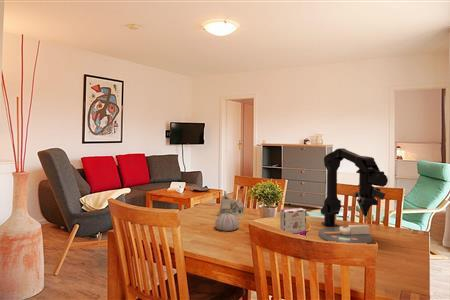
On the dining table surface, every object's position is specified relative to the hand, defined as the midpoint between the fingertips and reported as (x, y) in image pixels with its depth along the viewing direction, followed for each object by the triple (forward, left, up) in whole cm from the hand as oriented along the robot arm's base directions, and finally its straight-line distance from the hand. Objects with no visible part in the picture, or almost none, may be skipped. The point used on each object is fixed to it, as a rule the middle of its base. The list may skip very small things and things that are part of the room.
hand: (364, 215), depth 149 cm
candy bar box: (+2, -36, -12) cm, 38 cm away
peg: (-6, -6, -10) cm, 13 cm away
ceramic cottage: (-52, -59, -12) cm, 80 cm away
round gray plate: (-6, -7, -12) cm, 15 cm away
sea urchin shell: (-25, -64, -12) cm, 70 cm away
